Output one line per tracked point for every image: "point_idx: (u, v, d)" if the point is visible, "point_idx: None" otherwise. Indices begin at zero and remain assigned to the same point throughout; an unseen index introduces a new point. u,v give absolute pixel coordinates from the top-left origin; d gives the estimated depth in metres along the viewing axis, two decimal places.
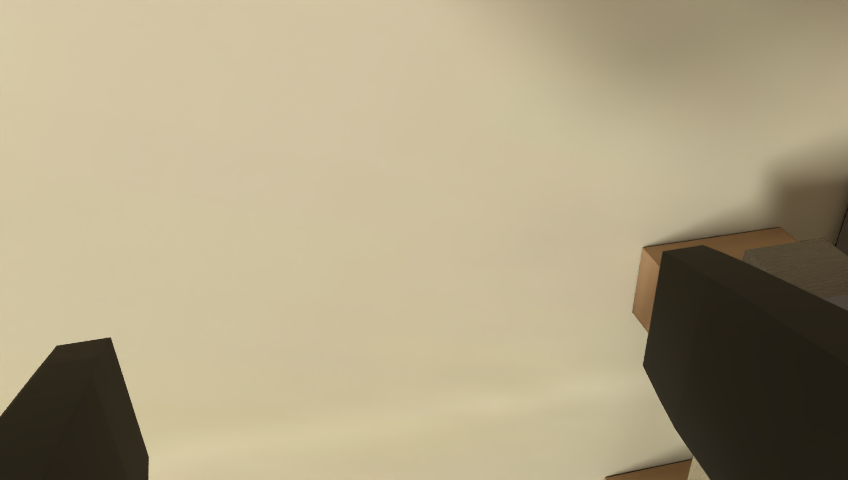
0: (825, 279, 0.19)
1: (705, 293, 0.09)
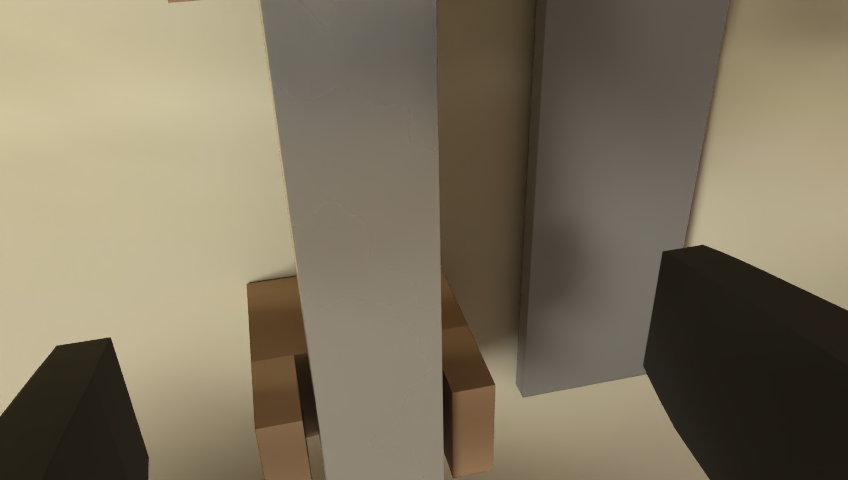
0: None
1: (705, 293, 0.09)
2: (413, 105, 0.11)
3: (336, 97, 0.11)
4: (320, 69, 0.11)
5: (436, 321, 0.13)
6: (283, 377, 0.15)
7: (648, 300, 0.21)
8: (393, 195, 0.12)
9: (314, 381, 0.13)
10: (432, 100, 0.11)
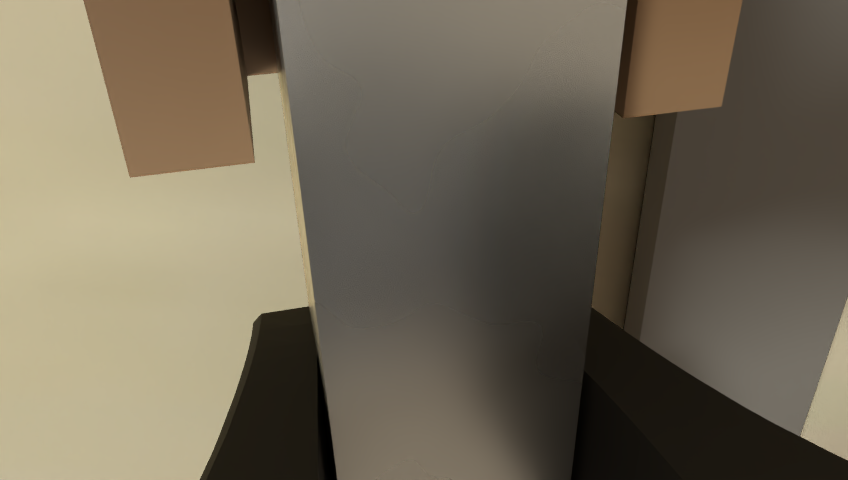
0: None
1: None
2: (550, 321, 0.07)
3: (425, 319, 0.06)
4: (401, 279, 0.06)
5: None
6: None
7: None
8: (504, 446, 0.07)
9: None
10: (582, 313, 0.07)
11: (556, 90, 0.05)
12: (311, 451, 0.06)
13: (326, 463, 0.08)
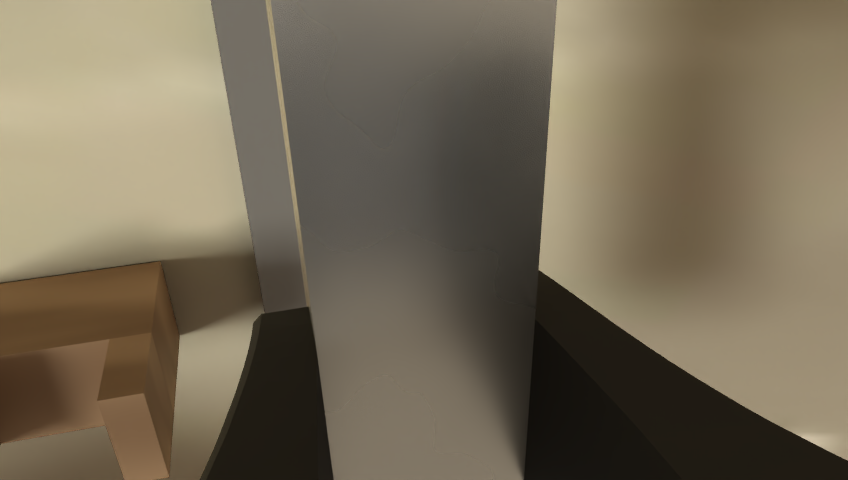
0: None
1: None
2: (505, 249, 0.08)
3: (395, 245, 0.07)
4: (374, 208, 0.07)
5: None
6: None
7: None
8: (468, 364, 0.08)
9: None
10: (532, 242, 0.08)
11: (502, 43, 0.06)
12: (311, 451, 0.06)
13: (326, 463, 0.08)
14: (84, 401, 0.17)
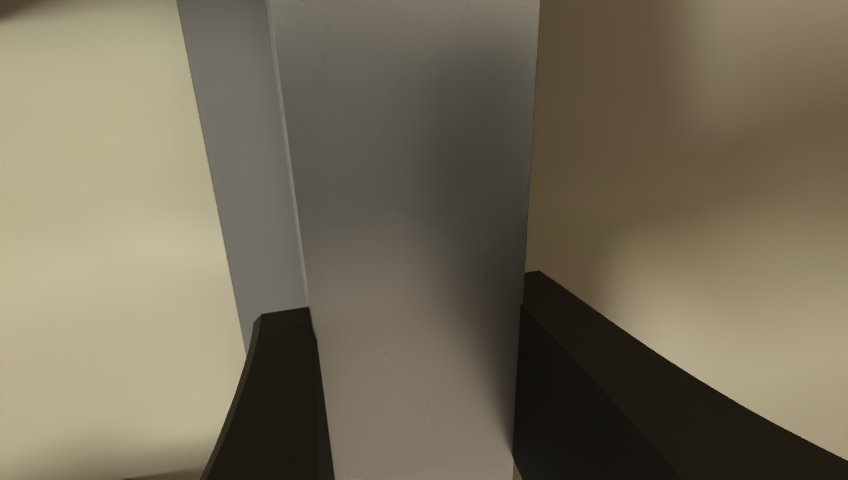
0: None
1: (523, 324, 0.09)
2: (493, 230, 0.08)
3: (387, 224, 0.08)
4: (367, 189, 0.07)
5: None
6: None
7: None
8: (459, 342, 0.09)
9: None
10: (520, 223, 0.08)
11: (488, 31, 0.07)
12: (311, 451, 0.06)
13: (326, 463, 0.08)
14: None
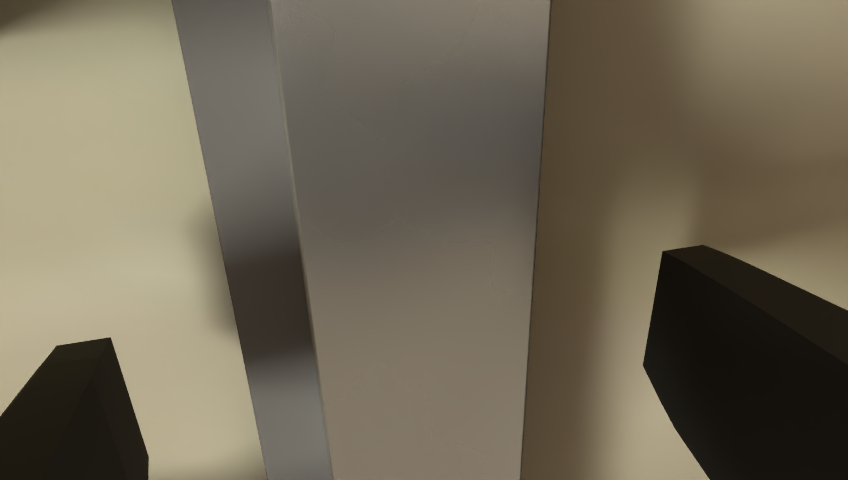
0: None
1: (705, 293, 0.09)
2: (500, 241, 0.08)
3: (391, 235, 0.07)
4: (371, 200, 0.07)
5: None
6: None
7: None
8: (465, 355, 0.08)
9: None
10: (528, 233, 0.08)
11: (496, 37, 0.07)
12: None
13: None
14: None
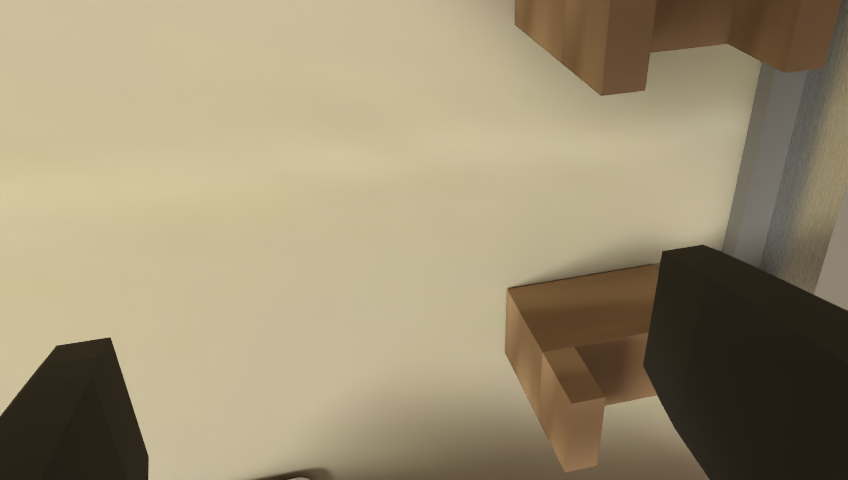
0: None
1: (705, 293, 0.09)
2: None
3: None
4: None
5: None
6: (574, 364, 0.20)
7: None
8: None
9: (823, 265, 0.21)
10: None
11: None
12: None
13: None
14: (636, 378, 0.21)
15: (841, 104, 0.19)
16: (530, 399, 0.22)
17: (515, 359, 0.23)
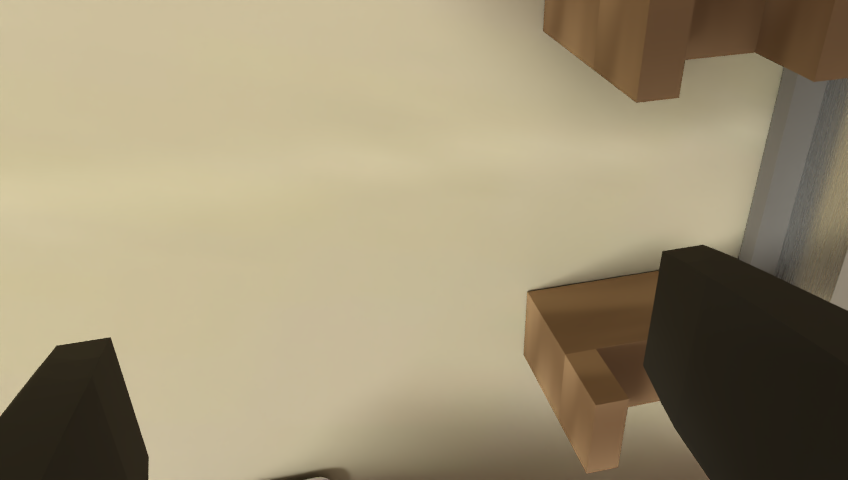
0: None
1: (705, 293, 0.09)
2: None
3: None
4: None
5: None
6: (597, 366, 0.20)
7: None
8: None
9: (841, 271, 0.21)
10: None
11: None
12: None
13: None
14: None
15: None
16: (550, 401, 0.22)
17: (535, 361, 0.23)
